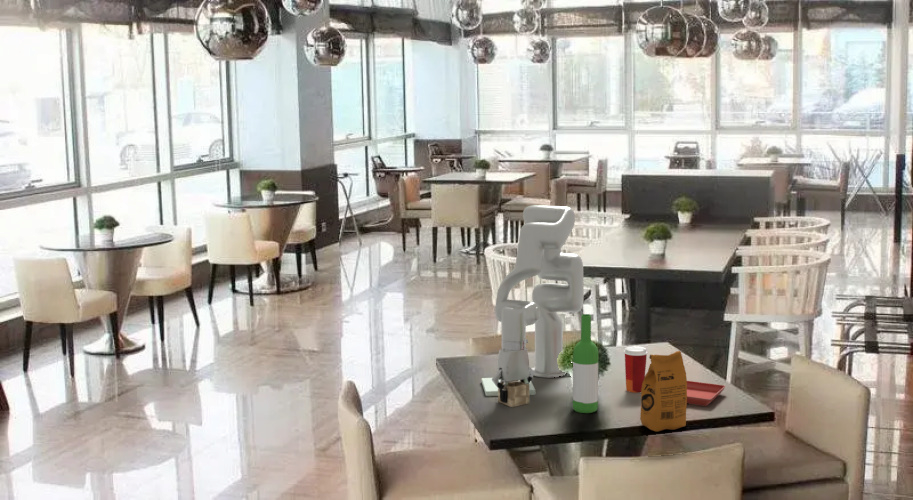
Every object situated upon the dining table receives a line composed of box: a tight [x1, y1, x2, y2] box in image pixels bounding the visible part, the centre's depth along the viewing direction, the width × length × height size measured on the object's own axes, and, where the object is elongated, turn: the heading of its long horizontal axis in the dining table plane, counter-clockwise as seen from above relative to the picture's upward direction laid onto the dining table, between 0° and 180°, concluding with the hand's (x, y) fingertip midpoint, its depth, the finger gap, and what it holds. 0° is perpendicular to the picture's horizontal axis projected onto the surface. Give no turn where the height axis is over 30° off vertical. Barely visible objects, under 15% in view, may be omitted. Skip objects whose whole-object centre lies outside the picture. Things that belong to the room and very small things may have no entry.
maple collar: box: [497, 381, 530, 408], centre depth 353 cm, size 7×7×6 cm
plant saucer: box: [687, 380, 726, 407], centre depth 358 cm, size 18×18×3 cm
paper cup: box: [623, 345, 648, 394], centre depth 365 cm, size 8×8×14 cm
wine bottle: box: [572, 313, 599, 414], centre depth 343 cm, size 8×8×30 cm
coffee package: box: [639, 350, 688, 432], centre depth 328 cm, size 10×12×22 cm
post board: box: [481, 377, 536, 397], centre depth 369 cm, size 16×16×6 cm
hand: (513, 399), depth 353 cm, fingers closed on maple collar, 7 cm apart
